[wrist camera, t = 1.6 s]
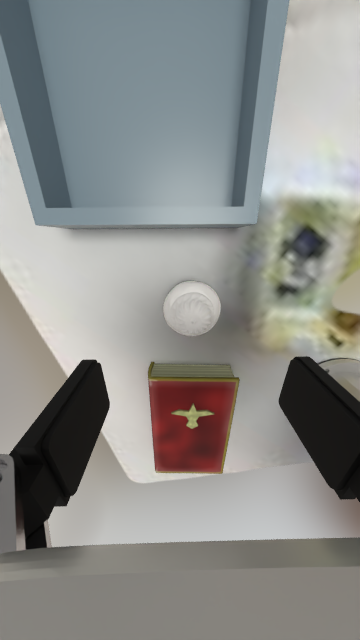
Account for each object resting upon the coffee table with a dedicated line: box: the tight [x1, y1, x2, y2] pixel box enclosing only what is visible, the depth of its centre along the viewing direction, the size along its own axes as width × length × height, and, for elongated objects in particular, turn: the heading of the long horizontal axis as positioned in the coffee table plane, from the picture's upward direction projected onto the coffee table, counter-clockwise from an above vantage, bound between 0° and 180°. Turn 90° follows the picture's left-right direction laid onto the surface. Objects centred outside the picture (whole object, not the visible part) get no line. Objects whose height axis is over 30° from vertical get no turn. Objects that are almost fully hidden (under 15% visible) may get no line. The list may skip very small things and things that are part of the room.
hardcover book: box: [148, 362, 240, 474], centre depth 29 cm, size 12×21×4 cm, turn 179°
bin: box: [0, 0, 289, 229], centre depth 13 cm, size 18×18×5 cm
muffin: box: [163, 281, 221, 336], centre depth 19 cm, size 6×6×7 cm
